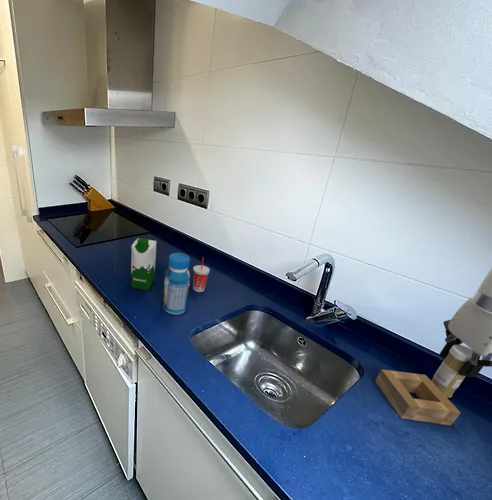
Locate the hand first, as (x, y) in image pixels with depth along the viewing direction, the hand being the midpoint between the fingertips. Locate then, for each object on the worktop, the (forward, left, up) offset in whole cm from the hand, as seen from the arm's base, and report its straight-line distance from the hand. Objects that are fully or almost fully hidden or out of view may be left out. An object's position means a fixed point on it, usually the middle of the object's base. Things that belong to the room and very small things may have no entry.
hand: (456, 365), depth 69 cm
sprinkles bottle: (0, 0, -9) cm, 9 cm away
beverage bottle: (+68, -22, -9) cm, 72 cm away
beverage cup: (+59, -36, -9) cm, 70 cm away
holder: (+10, +5, -9) cm, 14 cm away
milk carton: (+81, -35, -9) cm, 89 cm away
